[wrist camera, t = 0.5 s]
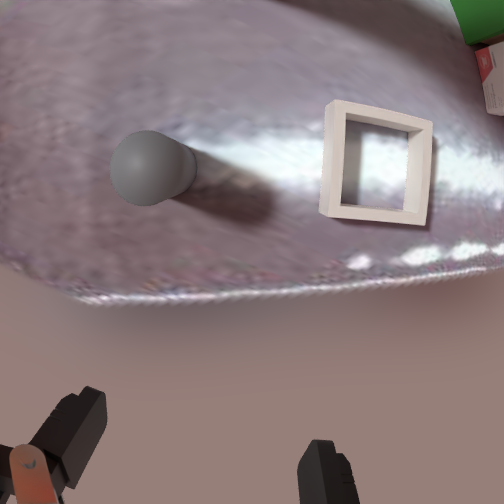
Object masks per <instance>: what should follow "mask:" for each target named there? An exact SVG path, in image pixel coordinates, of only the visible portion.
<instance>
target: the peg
mask: <svg viewBox="0 0 504 504" xmlns="http://www.w3.org/2000/svg"><path fill="white" fill-rule="evenodd" d="M196 173H197V163H196V159H195V157H194V155H193V153H192V152H191V150H190V149H189V148H188V147H186V146H185V145H183V144H181V143H179V142H177V141H175V140H173V139H171V138H169V137H167V136H165V135H163V134H161V133H159V132H155V131H139V132H136V133H133V134H131V135H129V136H128V137H126V138H125V139H124V140H123V141H122V142H121V143H120V144H119V145H118V146H117V148H116V149H115V151H114V153H113V156H112V159H111V163H110V178H111V182H112V185H113V187H114V189H115V190H116V192H117V193H118V194H119V196H120V197H122V198H123V199H124V200H125V201H127V202H129V203H131V204H134V205H138V206H150V205H154V204H157V203H159V202H162V201H164V200H167V199H169V198H172V197H174V196H176V195H179V194H181V193H183V192H184V191H186V190H187V189H188V188H189V187H190V186H191V185H192V183H193V181H194V179H195V177H196Z"/></svg>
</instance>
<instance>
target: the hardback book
mask: <svg viewBox="0 0 504 504" xmlns="http://www.w3.org/2000/svg"><path fill="white" fill-rule="evenodd" d="M450 1H451V4H452V6H453V9H454V11H455V14H456V17H457V19H458V22H459V25H460V28H461V30H462V33H463V36H464V39H465V43H466V45H470V46H471V45H474V44H476V43H479V42H481V43H485V44H488V45H494V44H497V43H500V42H503V41H504V0H450Z"/></svg>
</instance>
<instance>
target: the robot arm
mask: <svg viewBox="0 0 504 504" xmlns="http://www.w3.org/2000/svg"><path fill="white" fill-rule="evenodd" d="M106 425H107V408H106V396H105V393H104V392H102V391H99V390H96V389H94V388H91V387H89V386H86V387H85V388H84V389H83V390H82V392H81V393H80V394H79V396H77V395H75V394H73V393H71V394H69V395H68V396H66V397H64V398H63V399H61V401H60V402H59V403H58V404H57V406H56V407H55V410H53V411H52V413H51V414H50V416H49V417H48V418H47V419H46V421H45V422H44V423H43V425H42V426H41V428H40V429H39V430H38V432H37V433H36V434H35V436H34V437H33V439H32V440H31V441H30V442H29V443H28V444H22V445H18V446H16V447H15V448H12V447H8V446H4V445H1V444H0V504H6V502H7V500H8V498H9V496H10V494H12V495H15V496H16V500H17V504H65V501H64V498H63V495H62V492H63V490H64V488H65V486H67V487H69V488H71V489H75V487H76V485H77V483H78V481H79V479H80V477H81V475H82V473H83V471H84V469H85V467H86V465H87V463H88V461H89V459H90V457H91V456H92V454H93V452H94V450H95V448H96V446H97V444H98V442H99V440H100V438H101V436H102V434H103V433H104V430H105V428H106ZM297 475H298V486H299V497H300V504H360V502H359V498H358V493H357V489H356V485H355V484H354V482H355V481H354V478H353V476H352V470H351V466H350V463H349V461H348V460H347V459H346V457H345V456H344V455H343V454H342V453H336V450H335V446H334V443H333V441H330V440H312V441H311V443H310V445H309V446H308V448H307V450H306V451H305V453H304V455H303V456H302V458H301V460H300V462H299V464H298V469H297Z"/></svg>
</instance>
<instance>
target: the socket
mask: <svg viewBox="0 0 504 504" xmlns="http://www.w3.org/2000/svg"><path fill="white" fill-rule="evenodd" d="M346 120H351V121H357V122H363V123H368V124H373V125H378V126H383V127H388V128H393V129H397V130H401V131H406V132H408V154H407V171H406V184H405V195H404V205H403V210H400V209H392V208H383V207H373V206H364V205H353V204H343V203H341V191H342V178H343V164H344V147H345V125H346ZM431 157H432V121H428V120H425V119H421V118H418V117H414V116H410V115H406V114H403V113H399V112H394V111H390V110H386V109H382V108H377V107H372V106H368V105H363V104H358V103H352V102H347V101H341V100H334V101H332V102H331V103H329V104H328V105H326V106H325V124H324V145H323V162H322V177H321V190H320V203H319V213H321V214H323V215H325V216H327V217H335V218H348V219H360V220H372V221H383V222H394V223H404V224H414V225H424V226H425V223H426V215H427V206H428V197H429V186H430V174H431Z"/></svg>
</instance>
